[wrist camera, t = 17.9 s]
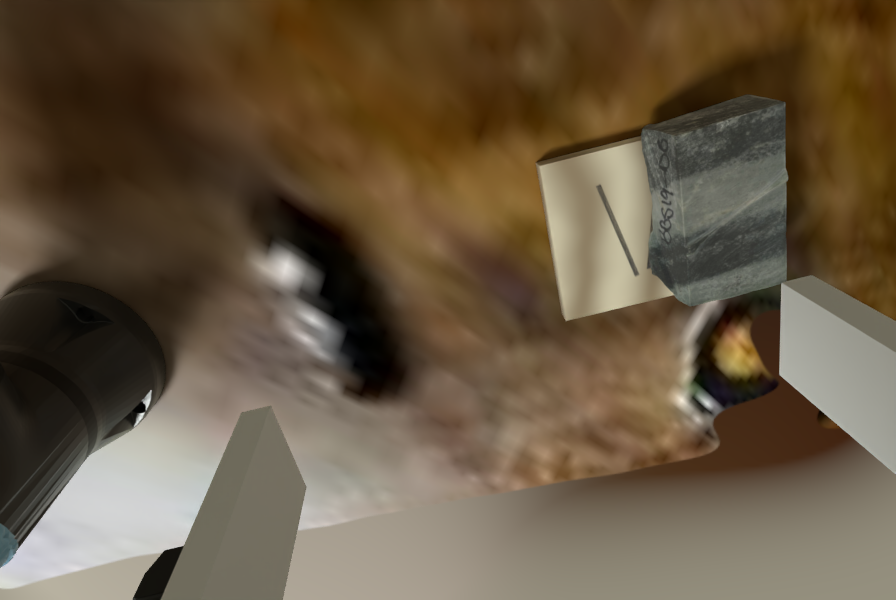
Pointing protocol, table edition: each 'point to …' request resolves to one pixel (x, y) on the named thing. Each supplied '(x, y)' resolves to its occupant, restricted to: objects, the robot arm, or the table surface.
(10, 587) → the table surface
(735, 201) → the stone block
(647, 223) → the board
